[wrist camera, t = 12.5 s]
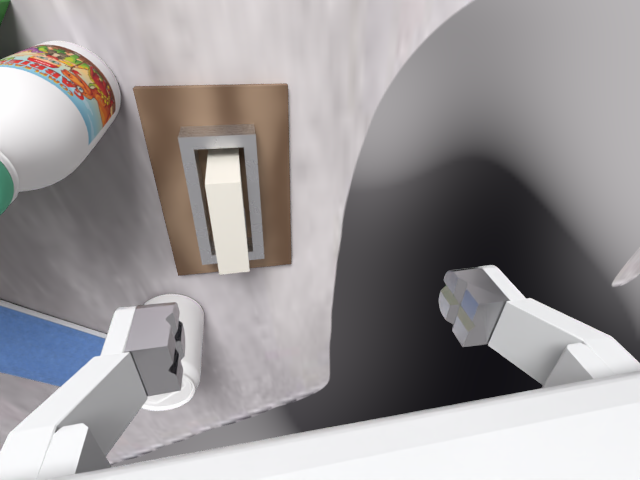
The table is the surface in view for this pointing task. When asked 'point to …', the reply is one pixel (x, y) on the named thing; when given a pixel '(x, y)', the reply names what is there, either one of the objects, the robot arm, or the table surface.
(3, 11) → the hardback book
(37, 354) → the tablet computer
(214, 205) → the door panel
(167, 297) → the beverage can
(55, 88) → the milk bottle
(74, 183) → the table surface
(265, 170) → the track board
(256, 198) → the bottom track
